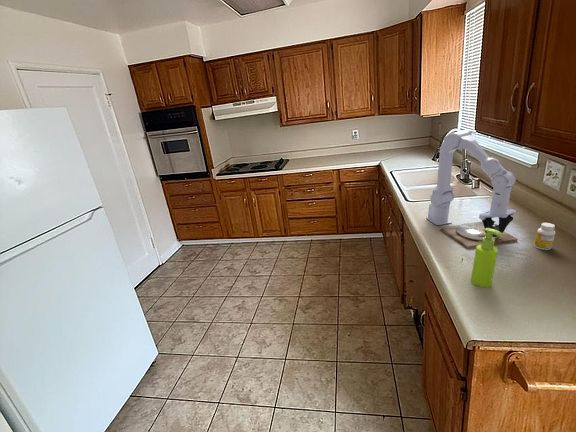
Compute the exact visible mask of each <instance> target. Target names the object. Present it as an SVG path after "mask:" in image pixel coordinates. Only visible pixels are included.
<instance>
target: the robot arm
mask: <svg viewBox="0 0 576 432" xmlns="http://www.w3.org/2000/svg"><path fill="white" fill-rule="evenodd" d="M456 150H467V151H468V152H469V153H470V154H471V155H472V156H473V157H474V158H475V159H476V160H477V161H479V163H480V168H481V169H482V170H483V172H484V173H485V174H486V175H487V177H489V179H490V180H491V186H492V188H493V190H492V195H491V201H490V208H489V210H488V211H485V212H483V213H479V216H478V219H480V220H481V222H483V224H484V229H486V228H491V229H492V226H493V224H496V221H495V220H493V218H498V225H499V231H500V232H501V233H503V232H505V231H506V229H507V227H508V226H509V225H510V223H512V221H513V220H514V217H513V216H516V215H517V214H516V213H517V210H515V209H513V208H512V209H511V208H510V209H508V208H509V203H510V197H511V191H512V189H513V187H512V186H513V185H515V183H516V182H517V177H516V175H515V173H514V172H512V171H508V170H507V169H505V167H503V166H502V164H501V163H500V160H499V159H496V158H495V157H490V156H489V155H488V153H486V152H485V150H484V149H483V148H482V146H481V145H480V144H479V142H477V139H476V137H475V135H474V134H472V132H471V131H470V130H468V129H464V130H460V131H456V132H449V133H448V134H447V135H445V136H444V138H443V142H442V143H441V146H440V147H439V156H438V169H437V170H438V171H437V182H436V185H435V187H433V190H432V191H431V192H432V193H431V195H430V197H429V198H430V203H429V205H428V212H427V217H426V219H427V220H428V221H429V222H431V223H433V224H434V225H436V226H441V225H448V224H452V223H453V222H452V221H451V220H450V219H449V213H450V204H452V203H451V202H452V201H453V200H454V199H455V194H454V188H453V186H452V185H451V181H452V180H451V179H452V171H453V170H452V169H453V161H454V160H453V159H454V152H456ZM485 233H487V232H486V231H485Z"/></svg>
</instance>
